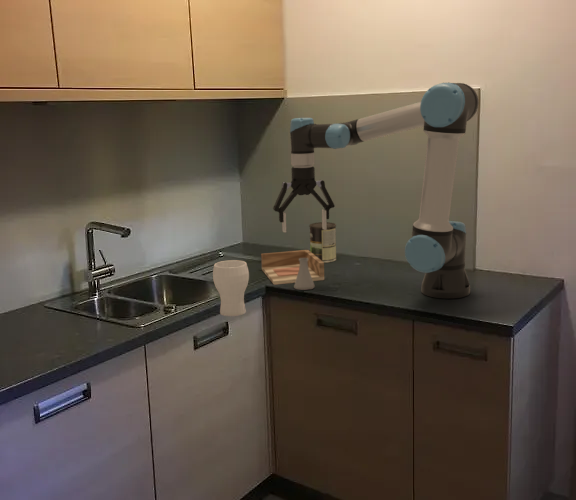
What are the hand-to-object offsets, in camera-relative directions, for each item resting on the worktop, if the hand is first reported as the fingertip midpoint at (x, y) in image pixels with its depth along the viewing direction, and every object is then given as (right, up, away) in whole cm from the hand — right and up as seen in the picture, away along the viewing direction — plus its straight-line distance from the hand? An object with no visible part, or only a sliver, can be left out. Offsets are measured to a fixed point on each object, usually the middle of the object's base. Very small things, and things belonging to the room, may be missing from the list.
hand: (304, 230), depth 219 cm
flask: (0, -19, +3) cm, 19 cm away
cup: (-22, -25, -21) cm, 40 cm away
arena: (-4, -15, +20) cm, 25 cm away
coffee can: (+8, -10, +41) cm, 43 cm away
